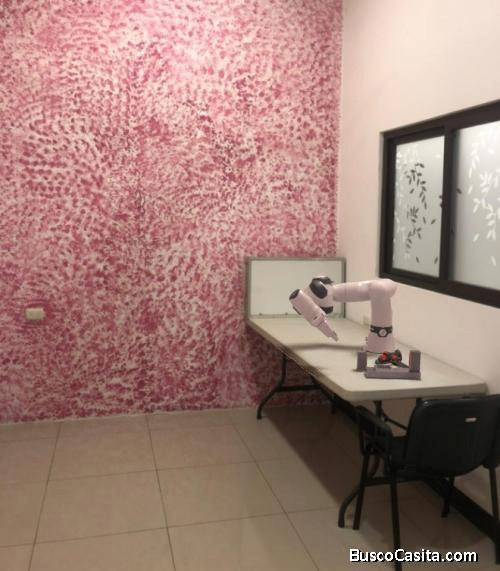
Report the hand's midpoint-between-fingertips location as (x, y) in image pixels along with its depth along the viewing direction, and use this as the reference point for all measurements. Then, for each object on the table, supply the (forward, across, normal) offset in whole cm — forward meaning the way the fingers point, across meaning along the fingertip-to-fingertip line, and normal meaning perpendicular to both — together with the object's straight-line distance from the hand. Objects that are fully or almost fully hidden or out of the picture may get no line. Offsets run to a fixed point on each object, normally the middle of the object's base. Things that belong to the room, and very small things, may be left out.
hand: (336, 338), depth 287 cm
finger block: (+19, 0, -2) cm, 19 cm away
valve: (+31, -11, +9) cm, 34 cm away
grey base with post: (+28, +10, +7) cm, 31 cm away
